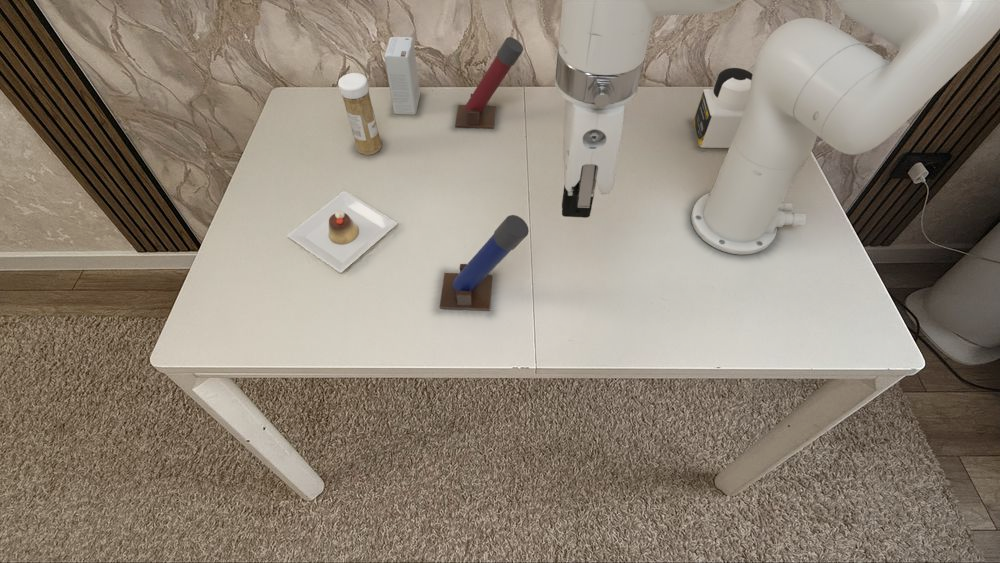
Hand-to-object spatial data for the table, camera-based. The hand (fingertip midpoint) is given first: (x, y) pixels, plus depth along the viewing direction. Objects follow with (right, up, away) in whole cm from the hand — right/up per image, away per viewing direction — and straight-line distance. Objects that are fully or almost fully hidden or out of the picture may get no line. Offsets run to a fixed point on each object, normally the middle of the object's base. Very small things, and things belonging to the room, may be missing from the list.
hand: (575, 211), depth 64 cm
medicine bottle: (+30, +18, +34) cm, 49 cm away
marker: (-13, -8, +13) cm, 20 cm away
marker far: (-13, +24, +36) cm, 45 cm away
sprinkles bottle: (-32, +15, +34) cm, 49 cm away
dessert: (-33, -1, +22) cm, 39 cm away
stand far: (-13, +22, +38) cm, 46 cm away
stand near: (-13, -10, +15) cm, 22 cm away
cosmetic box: (-26, +25, +40) cm, 54 cm away
